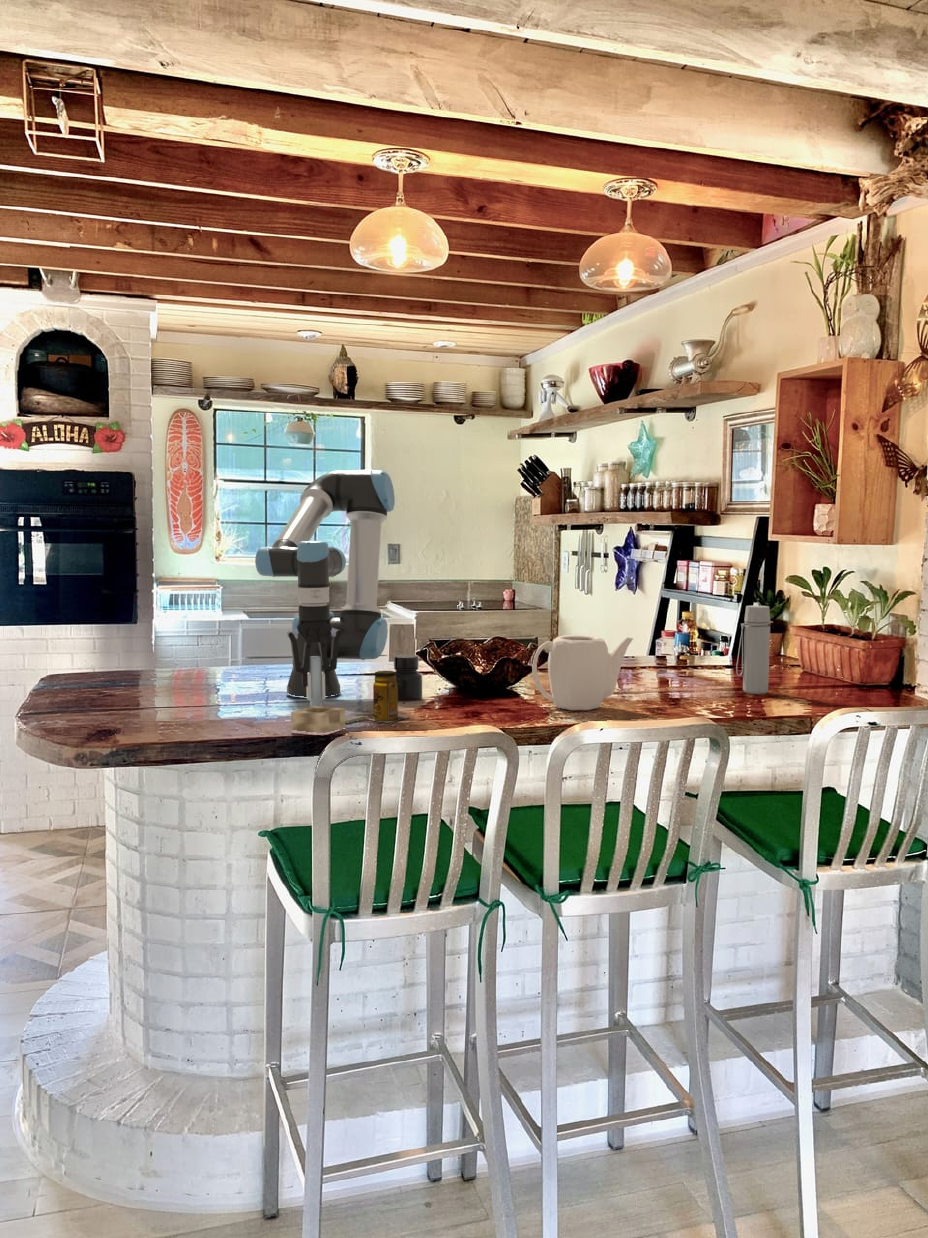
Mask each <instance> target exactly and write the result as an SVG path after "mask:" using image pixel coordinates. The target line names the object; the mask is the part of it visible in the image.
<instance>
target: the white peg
mask: <svg viewBox="0 0 928 1238" xmlns="http://www.w3.org/2000/svg"><path fill="white" fill-rule="evenodd" d="M309 673H310V674H311V700H309V707H310V706H314V705H315V706H323V700H322V679H321V673H322V669H321V657H320V656H311V657H310V658H309Z"/></svg>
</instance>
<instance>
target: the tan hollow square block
mask: <svg viewBox="0 0 928 1238" xmlns="http://www.w3.org/2000/svg"><path fill="white" fill-rule="evenodd" d="M345 720H346V708H343V707H335V706H334V707H333V706H323V705H322V706H315V705H314V706H310V705H309V706H307V707H304V708H300V709H297V710H293V711H290V721H291V722H290V728H291V730H297V731H306V732H317V733H326V732H330V731H335V730H338V729H343V728H345V729H346V724H345Z"/></svg>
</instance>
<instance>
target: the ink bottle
mask: <svg viewBox="0 0 928 1238" xmlns="http://www.w3.org/2000/svg"><path fill="white" fill-rule="evenodd" d="M393 667H394V668H393V669H394V670H395V671H394V672H395V673H396V682H397V684H398V702H415V701H418V700H419V701H420V700H421V699H422V698H423V676H422V674H421V673H420V672H419V671H418V670H419V655H416V654H397V655H394V656H393Z"/></svg>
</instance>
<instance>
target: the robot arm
mask: <svg viewBox="0 0 928 1238" xmlns="http://www.w3.org/2000/svg"><path fill="white" fill-rule="evenodd" d="M395 505H396V504H395V490H394V485H393V482H392V480H391V477H390V475H389V474H388V472H387V471H385V470H381V469H380V470H379V469H377V470H374V469H373V468H372V469H358V470H357V469H355V470H350V469H349V470H341V469H340V470H333V471H330V472H326V473H325V474H323V475H321V476H319V477H317V478H316V479H314V480H313V481H311V482H310V483H309V484H308V485H307V486H306V488H305V489H304V490H303V492H302V494H301V495H300V497H299V505H298V506H297V507H296V510H295V511H294V513H293V514H292V515H291V517H290V518H289V520H288V521H287V523H286V524H285V527H284V528H283V529H282V531H281V532H280V534H279V536H278V537H277V539H276V540H275V542H274V543H273V544H272V546H262V547H260V548H258V549H257V551H256V553H255V558H254V559H255V561H254V562H255V563H254V564H255V569H256V571H257V573H258V574H259V575H260V576H263V577H272V578H276V577H277V578H279V577H280V578H281V577H283V578H285V577H297V594H298V595H297V596H298V598H297V599H298V603H299V606H298V615H297V616H296V617H294V618H293V620H292V623H291V624H292V627H291V631H290V630H289V631H288V632H287V634H286V635H287V637H288V639H289V641H290V647H291V655H292V669H291V673H290V676H289V679H288V682H287V683H288V684H287V685H286V694H287V693H289V694H291V695H295V696H304V697H307V698H306V699H307V700H308V701H310V700H311V674H310V673H309V658H310V657H311V656H320V657H321V669H322V673H321V679H322V701H323V700H326V698H325V696H331V695H336V694H339V693H340V694H341V684H340V682H339V678H338V675H337V671H336V670H337V666H338V659H342V660H344V659H345V660H362V661H365V660H377V659H378V658H379V657H380V656H381V655H382V654H383V652H384V650H385V646H386V644H387V639H388V622H387V620H386V619H385V618H384V617H382V611H381V610H380V609H379V608H378V606H377V604H378V603H377V602H378V589H379V588H378V587H379V570H380V569H379V568H380V550H381V532H382V524H383V522H385V521H386V520H387V519H388V513H390V512H392V511H394V508H395ZM332 512H345V513H346V514H345V517H347V519H348V520H349V521H350V532H349V533H350V535H349V551H348V552H349V553H348V569H347V583H346V601H345V603H346V604H345V605H344V606H343V607H342V608H341V609H340V611H339V612H340V613H339V617H337V616H336V617H334V616H335V615H334V612H333V611H330V610H331V609H330V605H329V603H330V578H333V577H337V575H340V574H341V573H342V572H343V571H344V569H345V568H346V564H347V560H346V559H347V558H346V555H345V554H344V552H343V551H342V550H341V549H339V548H338V547H335V546H329V544H328V542H327V541H325V540H312V538H313V536H314V535H315V533H316V531H317V530H318V528H319V527H320V524H321V523H322V521H323V520H324V519H325V518H327V517H329V516H330V515H331V513H332ZM340 694H339V695H340Z"/></svg>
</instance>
